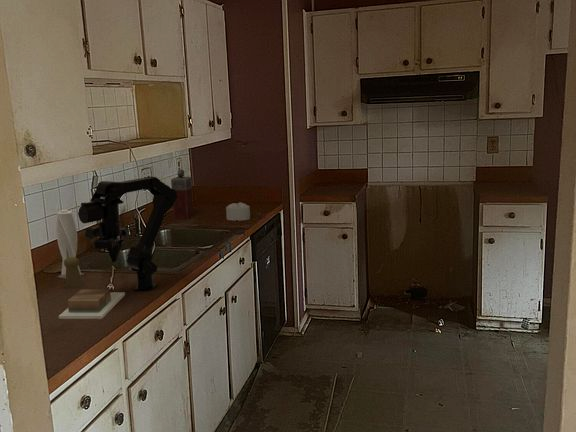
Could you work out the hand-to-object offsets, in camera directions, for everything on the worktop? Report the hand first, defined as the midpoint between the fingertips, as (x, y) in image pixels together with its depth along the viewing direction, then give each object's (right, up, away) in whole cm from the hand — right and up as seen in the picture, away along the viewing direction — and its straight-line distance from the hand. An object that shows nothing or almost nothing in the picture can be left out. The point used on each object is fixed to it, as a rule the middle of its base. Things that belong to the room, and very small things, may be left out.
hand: (114, 261), depth 199 cm
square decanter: (-1, +15, +132) cm, 133 cm away
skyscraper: (-26, -8, +29) cm, 40 cm away
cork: (-20, -11, +16) cm, 28 cm away
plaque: (-5, -11, -4) cm, 13 cm away
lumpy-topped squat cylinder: (+33, +14, +126) cm, 131 cm away
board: (-5, -15, -6) cm, 17 cm away
